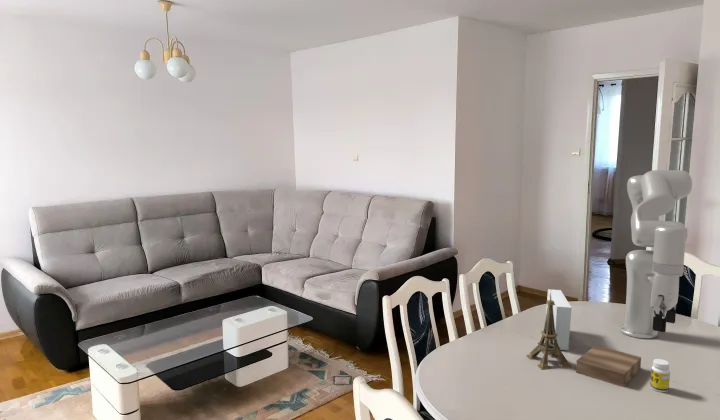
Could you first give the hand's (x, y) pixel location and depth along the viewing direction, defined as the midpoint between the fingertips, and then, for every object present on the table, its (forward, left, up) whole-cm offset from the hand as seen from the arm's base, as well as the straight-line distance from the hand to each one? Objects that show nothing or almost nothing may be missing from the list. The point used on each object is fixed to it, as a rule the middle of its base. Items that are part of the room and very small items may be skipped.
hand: (663, 326), depth 148 cm
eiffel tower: (+4, -32, -20) cm, 38 cm away
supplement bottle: (0, 0, -20) cm, 20 cm away
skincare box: (-16, -38, -20) cm, 46 cm away
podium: (-2, -15, -19) cm, 25 cm away
